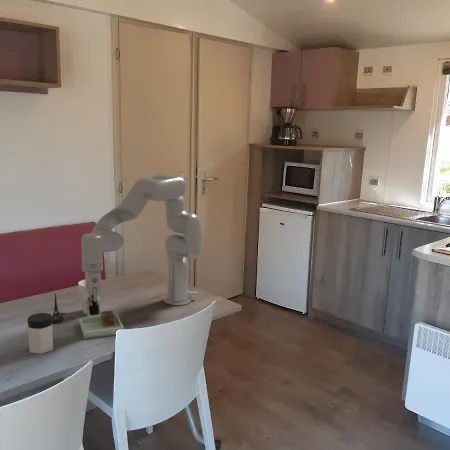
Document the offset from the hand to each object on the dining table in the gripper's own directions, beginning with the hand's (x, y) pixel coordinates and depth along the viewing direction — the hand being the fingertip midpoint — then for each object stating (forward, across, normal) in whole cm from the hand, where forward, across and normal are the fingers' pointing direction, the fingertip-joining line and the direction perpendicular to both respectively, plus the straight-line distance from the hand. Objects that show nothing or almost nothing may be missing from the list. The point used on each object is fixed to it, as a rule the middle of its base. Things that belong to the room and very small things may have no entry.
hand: (93, 311), depth 184 cm
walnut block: (+8, +5, -6) cm, 11 cm away
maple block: (0, 0, 0) cm, 0 cm away
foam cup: (+9, +22, -2) cm, 24 cm away
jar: (+9, -7, +19) cm, 22 cm away
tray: (+9, +3, -3) cm, 10 cm away
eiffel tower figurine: (+10, +17, +12) cm, 23 cm away
